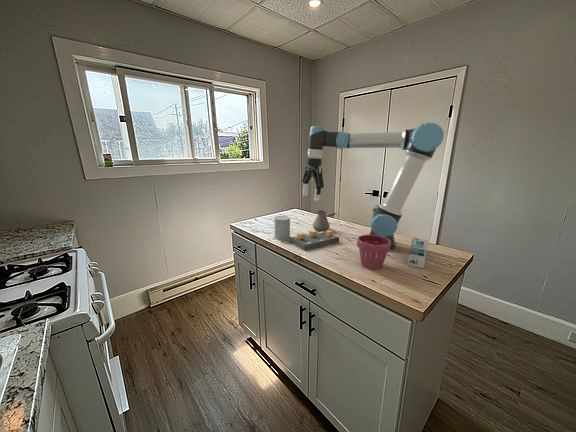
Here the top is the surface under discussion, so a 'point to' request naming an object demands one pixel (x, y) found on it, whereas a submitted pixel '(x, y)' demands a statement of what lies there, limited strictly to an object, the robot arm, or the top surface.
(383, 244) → the plant pot
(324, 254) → the top surface
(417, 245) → the light bulb box
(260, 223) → the top surface
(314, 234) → the switch
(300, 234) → the switch
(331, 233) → the switch
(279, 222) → the grey cylinder
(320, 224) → the coffee pot
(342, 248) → the top surface
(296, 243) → the grey flat tray
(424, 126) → the robot arm
